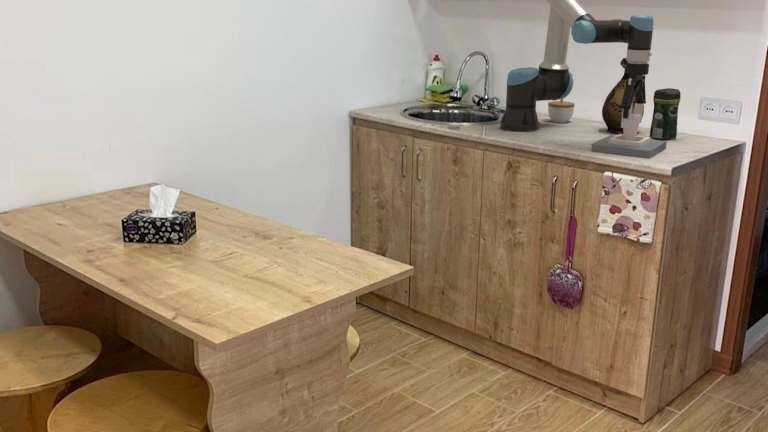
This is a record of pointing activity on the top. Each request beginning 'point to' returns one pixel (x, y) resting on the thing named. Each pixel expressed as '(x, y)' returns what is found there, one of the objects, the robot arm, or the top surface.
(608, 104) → the ceramic jug
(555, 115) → the lidded jar
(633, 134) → the smoothie
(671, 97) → the coffee jar
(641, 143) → the plinth
